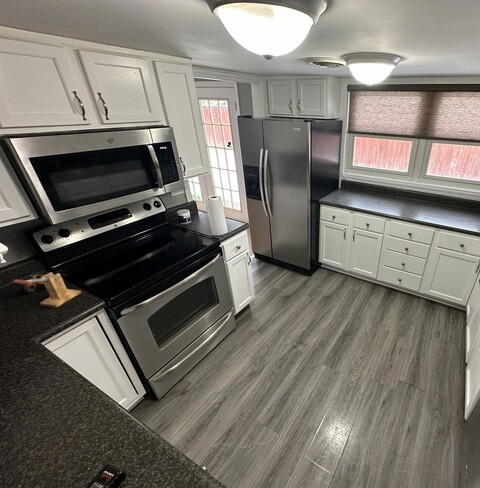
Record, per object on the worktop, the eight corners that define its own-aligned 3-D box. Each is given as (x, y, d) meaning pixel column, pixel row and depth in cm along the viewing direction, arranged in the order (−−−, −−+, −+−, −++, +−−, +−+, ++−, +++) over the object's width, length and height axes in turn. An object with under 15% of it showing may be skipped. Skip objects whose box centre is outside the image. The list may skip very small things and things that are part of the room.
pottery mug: (33, 285, 141) (39, 271, 140) (54, 291, 144) (59, 277, 143) (13, 293, 129) (19, 278, 129) (36, 299, 132) (42, 285, 132)
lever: (28, 286, 114) (28, 280, 114) (12, 284, 115) (13, 278, 115) (62, 281, 127) (62, 276, 127) (47, 279, 128) (48, 274, 128)
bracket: (56, 307, 125) (44, 283, 119) (40, 305, 126) (27, 281, 120) (81, 292, 136) (71, 269, 130) (66, 290, 137) (55, 267, 131)
